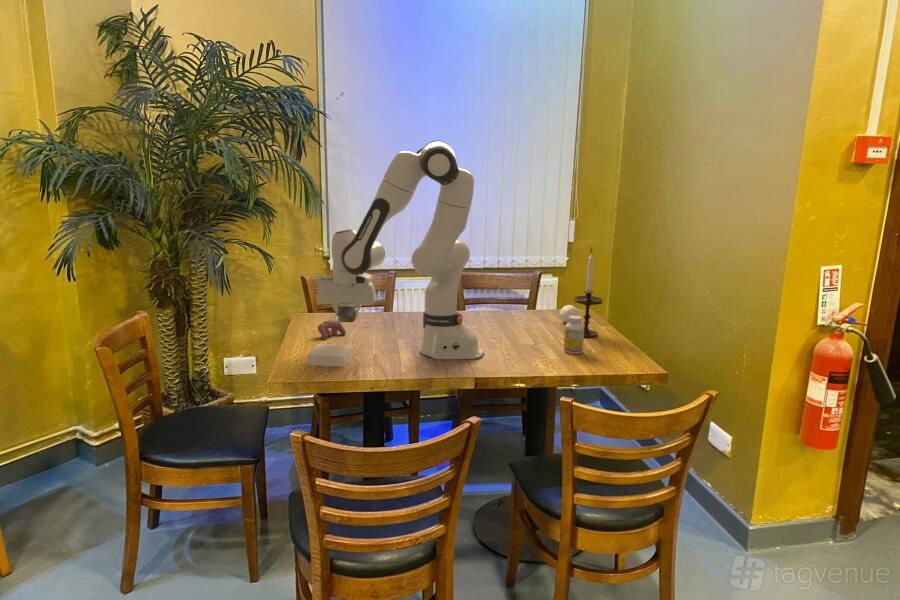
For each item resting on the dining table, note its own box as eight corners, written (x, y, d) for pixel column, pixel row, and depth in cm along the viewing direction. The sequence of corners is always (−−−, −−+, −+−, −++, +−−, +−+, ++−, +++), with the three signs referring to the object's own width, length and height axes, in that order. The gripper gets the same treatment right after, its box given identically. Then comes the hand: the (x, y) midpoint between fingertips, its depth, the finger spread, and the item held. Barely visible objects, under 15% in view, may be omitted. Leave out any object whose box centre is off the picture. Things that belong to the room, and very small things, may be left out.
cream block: (352, 356, 218) (352, 345, 217) (343, 368, 206) (343, 356, 205) (318, 355, 219) (318, 343, 218) (307, 366, 207) (307, 354, 206)
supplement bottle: (567, 348, 231) (569, 313, 228) (584, 350, 228) (587, 316, 225) (561, 352, 225) (563, 317, 222) (579, 355, 222) (582, 320, 219)
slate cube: (356, 318, 225) (355, 304, 224) (352, 322, 220) (352, 308, 219) (342, 318, 225) (341, 304, 224) (338, 322, 220) (337, 307, 219)
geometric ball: (563, 329, 266) (552, 313, 266) (575, 320, 270) (564, 304, 270) (574, 324, 259) (563, 308, 259) (586, 315, 263) (575, 299, 263)
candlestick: (587, 340, 241) (594, 248, 233) (565, 333, 249) (571, 245, 241) (605, 335, 248) (612, 246, 240) (583, 329, 256) (589, 242, 248)
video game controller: (341, 336, 245) (336, 319, 245) (347, 334, 241) (342, 316, 242) (319, 341, 238) (314, 324, 238) (325, 338, 234) (320, 320, 235)
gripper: (313, 278, 217) (315, 317, 220) (372, 278, 215) (373, 318, 218) (319, 274, 223) (320, 313, 226) (376, 275, 221) (377, 314, 224)
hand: (347, 315), depth 222 cm, fingers closed on slate cube, 5 cm apart
